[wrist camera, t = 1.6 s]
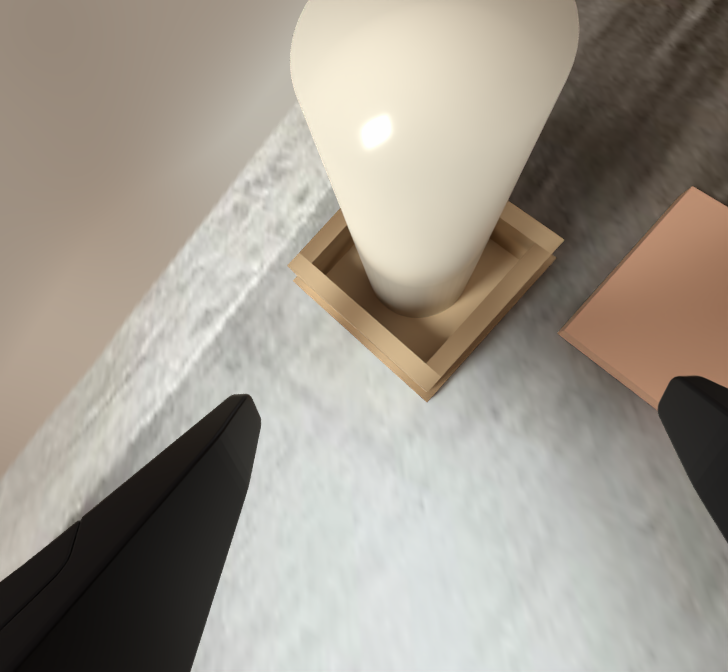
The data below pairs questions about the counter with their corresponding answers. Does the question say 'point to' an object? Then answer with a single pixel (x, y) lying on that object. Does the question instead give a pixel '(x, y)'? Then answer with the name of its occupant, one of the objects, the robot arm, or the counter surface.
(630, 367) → the tile
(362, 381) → the counter surface
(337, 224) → the holder
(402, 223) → the jug
